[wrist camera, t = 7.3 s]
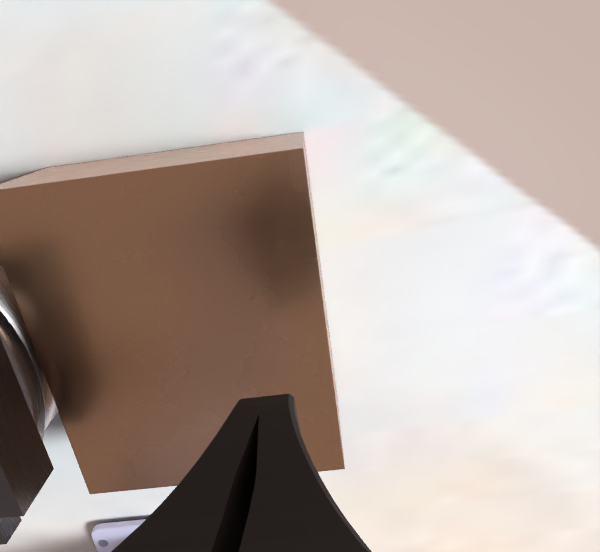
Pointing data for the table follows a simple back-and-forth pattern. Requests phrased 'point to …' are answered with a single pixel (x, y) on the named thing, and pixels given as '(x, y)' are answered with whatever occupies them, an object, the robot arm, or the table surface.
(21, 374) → the lid
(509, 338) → the table surface
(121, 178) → the cooker
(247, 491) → the robot arm
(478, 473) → the table surface
